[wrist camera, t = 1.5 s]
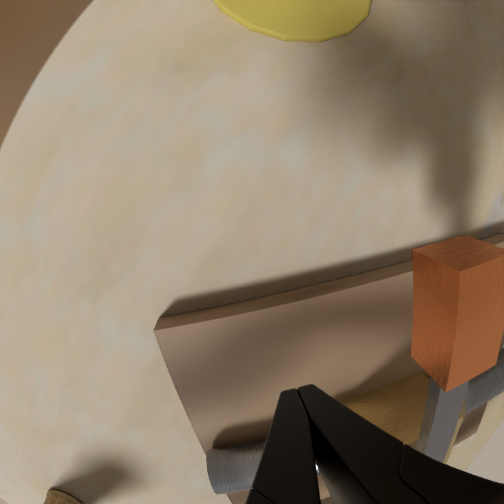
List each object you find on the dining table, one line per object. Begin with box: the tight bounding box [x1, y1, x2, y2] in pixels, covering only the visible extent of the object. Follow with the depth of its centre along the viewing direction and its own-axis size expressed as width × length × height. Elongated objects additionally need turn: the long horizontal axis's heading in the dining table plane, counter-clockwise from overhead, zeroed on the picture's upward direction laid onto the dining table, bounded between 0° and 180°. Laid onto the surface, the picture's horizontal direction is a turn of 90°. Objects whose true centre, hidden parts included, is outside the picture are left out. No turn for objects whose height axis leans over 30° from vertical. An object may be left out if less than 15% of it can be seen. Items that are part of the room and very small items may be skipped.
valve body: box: [206, 348, 504, 494], centre depth 16 cm, size 5×23×6 cm, turn 101°
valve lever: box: [411, 235, 504, 463], centre depth 10 cm, size 14×3×3 cm, turn 11°
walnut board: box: [154, 233, 504, 504], centre depth 19 cm, size 20×24×2 cm
